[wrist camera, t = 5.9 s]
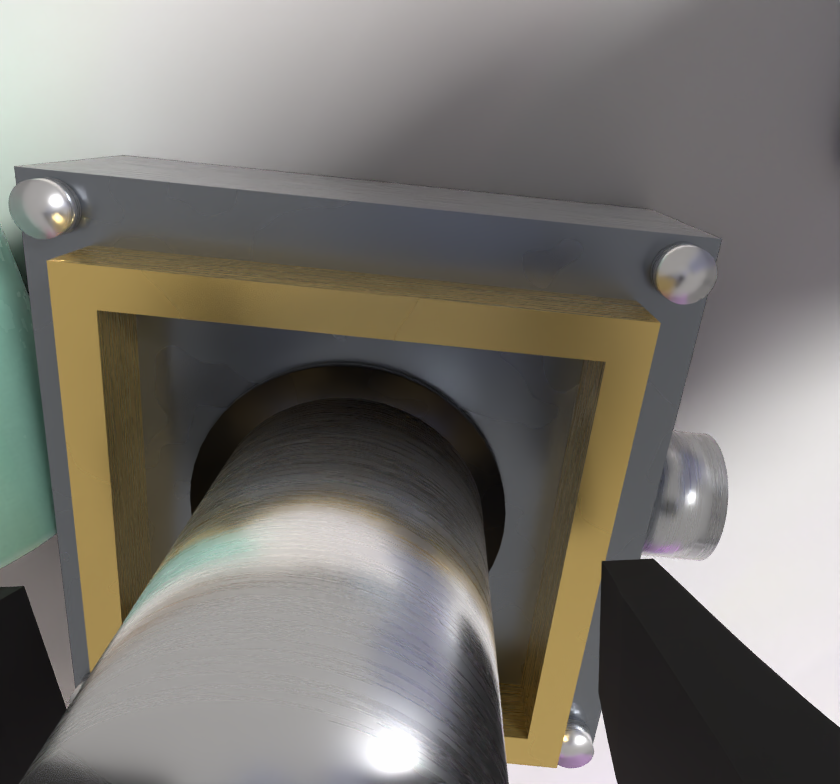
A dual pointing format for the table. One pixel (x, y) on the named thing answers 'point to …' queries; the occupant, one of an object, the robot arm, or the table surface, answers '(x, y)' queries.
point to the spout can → (306, 623)
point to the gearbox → (374, 380)
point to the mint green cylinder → (21, 424)
